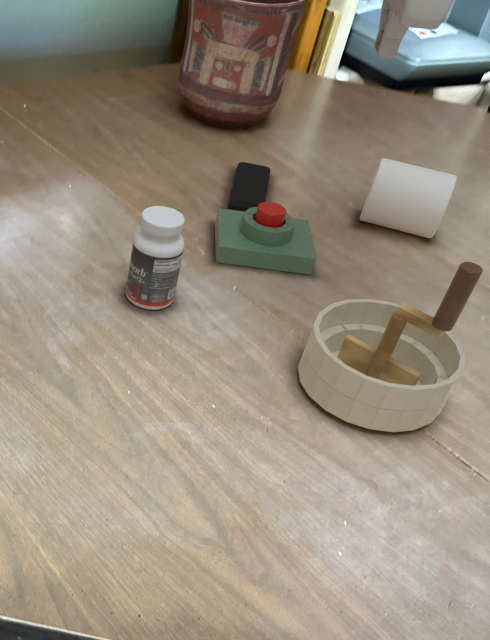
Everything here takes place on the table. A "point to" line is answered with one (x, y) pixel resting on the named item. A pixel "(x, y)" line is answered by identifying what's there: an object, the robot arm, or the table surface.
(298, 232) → the green button base
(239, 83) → the pottery
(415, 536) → the table surface
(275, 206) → the timer button
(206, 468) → the table surface
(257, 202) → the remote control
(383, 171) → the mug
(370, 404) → the bowl
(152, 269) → the pill bottle
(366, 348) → the stirring paddle
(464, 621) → the table surface
